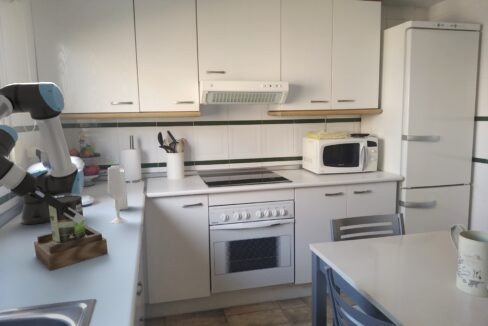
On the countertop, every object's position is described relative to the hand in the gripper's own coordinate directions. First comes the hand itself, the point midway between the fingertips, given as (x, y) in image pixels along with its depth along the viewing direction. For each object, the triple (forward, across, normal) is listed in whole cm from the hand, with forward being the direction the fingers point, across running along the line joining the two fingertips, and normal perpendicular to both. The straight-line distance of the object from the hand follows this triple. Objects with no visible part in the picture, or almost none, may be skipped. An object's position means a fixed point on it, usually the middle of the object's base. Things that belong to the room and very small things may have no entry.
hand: (75, 217), depth 127 cm
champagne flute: (+27, -26, +9) cm, 38 cm away
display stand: (+7, 0, -11) cm, 13 cm away
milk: (+34, -47, +16) cm, 60 cm away
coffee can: (+3, 0, -7) cm, 8 cm away
